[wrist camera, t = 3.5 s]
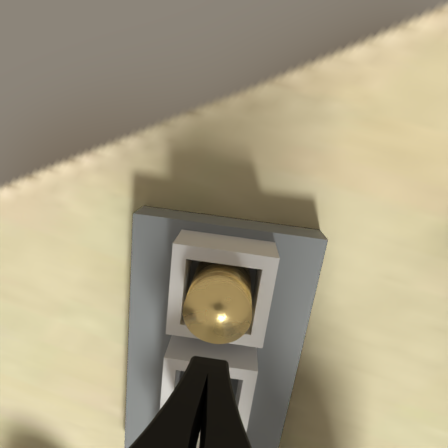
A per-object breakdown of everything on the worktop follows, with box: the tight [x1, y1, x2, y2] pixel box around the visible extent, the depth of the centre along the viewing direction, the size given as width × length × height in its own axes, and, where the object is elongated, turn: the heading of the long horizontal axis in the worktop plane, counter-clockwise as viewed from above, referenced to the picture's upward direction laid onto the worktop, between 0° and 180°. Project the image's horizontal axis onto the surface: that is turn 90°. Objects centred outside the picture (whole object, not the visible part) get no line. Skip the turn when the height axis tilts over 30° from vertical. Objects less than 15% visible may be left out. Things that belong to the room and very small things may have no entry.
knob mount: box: [125, 206, 328, 448], centre depth 21 cm, size 22×12×4 cm, turn 173°
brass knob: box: [183, 261, 252, 344], centre depth 17 cm, size 4×4×4 cm
